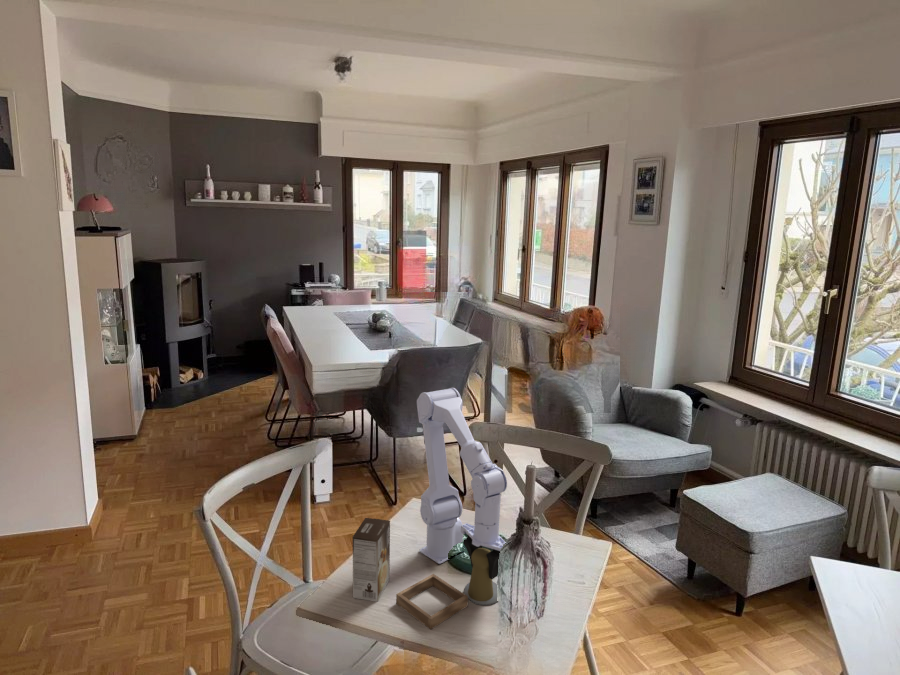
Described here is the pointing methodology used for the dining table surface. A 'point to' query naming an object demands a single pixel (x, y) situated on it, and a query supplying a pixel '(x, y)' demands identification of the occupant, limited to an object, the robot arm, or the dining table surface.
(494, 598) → the grey pebble
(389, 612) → the dining table surface
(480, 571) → the olive waisted cylinder
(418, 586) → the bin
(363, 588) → the coffee box
